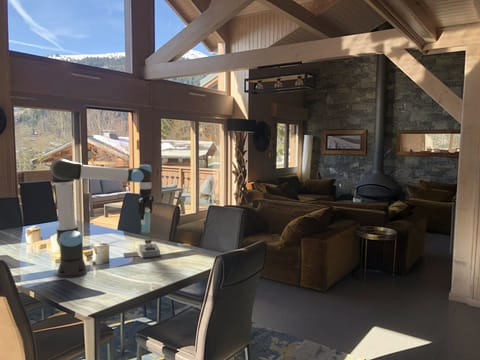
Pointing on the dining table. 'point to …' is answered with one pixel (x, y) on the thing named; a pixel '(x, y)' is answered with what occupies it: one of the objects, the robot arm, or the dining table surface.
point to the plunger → (148, 242)
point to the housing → (149, 251)
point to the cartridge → (146, 221)
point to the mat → (131, 254)
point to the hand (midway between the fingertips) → (145, 223)
